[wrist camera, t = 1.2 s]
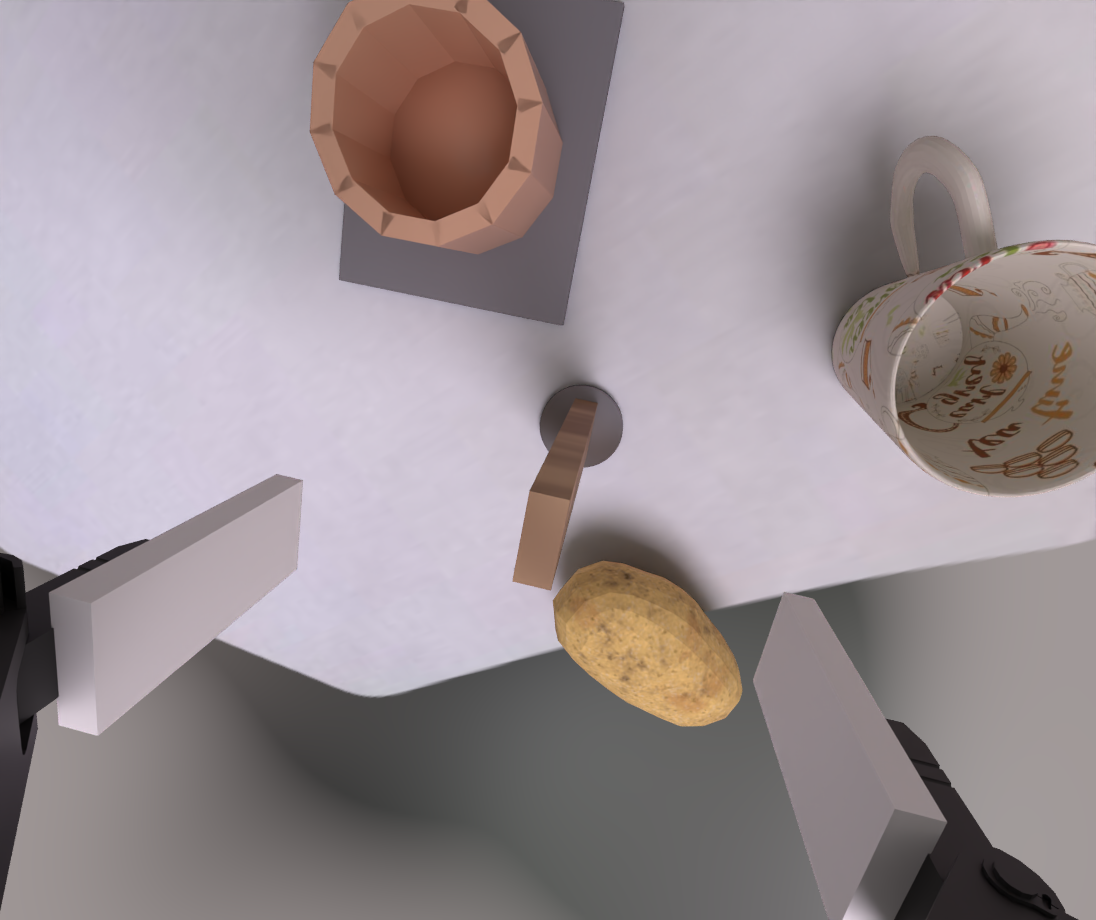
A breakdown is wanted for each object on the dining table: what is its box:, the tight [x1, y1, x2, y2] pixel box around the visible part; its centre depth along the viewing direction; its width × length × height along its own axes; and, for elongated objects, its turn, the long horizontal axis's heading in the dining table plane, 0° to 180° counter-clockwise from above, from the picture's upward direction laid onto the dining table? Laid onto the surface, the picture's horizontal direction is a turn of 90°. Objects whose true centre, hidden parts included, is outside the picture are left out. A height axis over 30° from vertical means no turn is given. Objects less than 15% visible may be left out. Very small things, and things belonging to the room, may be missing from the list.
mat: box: [339, 0, 624, 326], centre depth 28 cm, size 14×12×1 cm
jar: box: [310, 0, 563, 254], centre depth 25 cm, size 9×9×6 cm
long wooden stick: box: [513, 385, 623, 590], centre depth 25 cm, size 4×4×15 cm
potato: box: [553, 561, 742, 726], centre depth 31 cm, size 7×11×6 cm, turn 49°
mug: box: [832, 136, 1096, 497], centre depth 23 cm, size 8×13×10 cm, turn 21°
